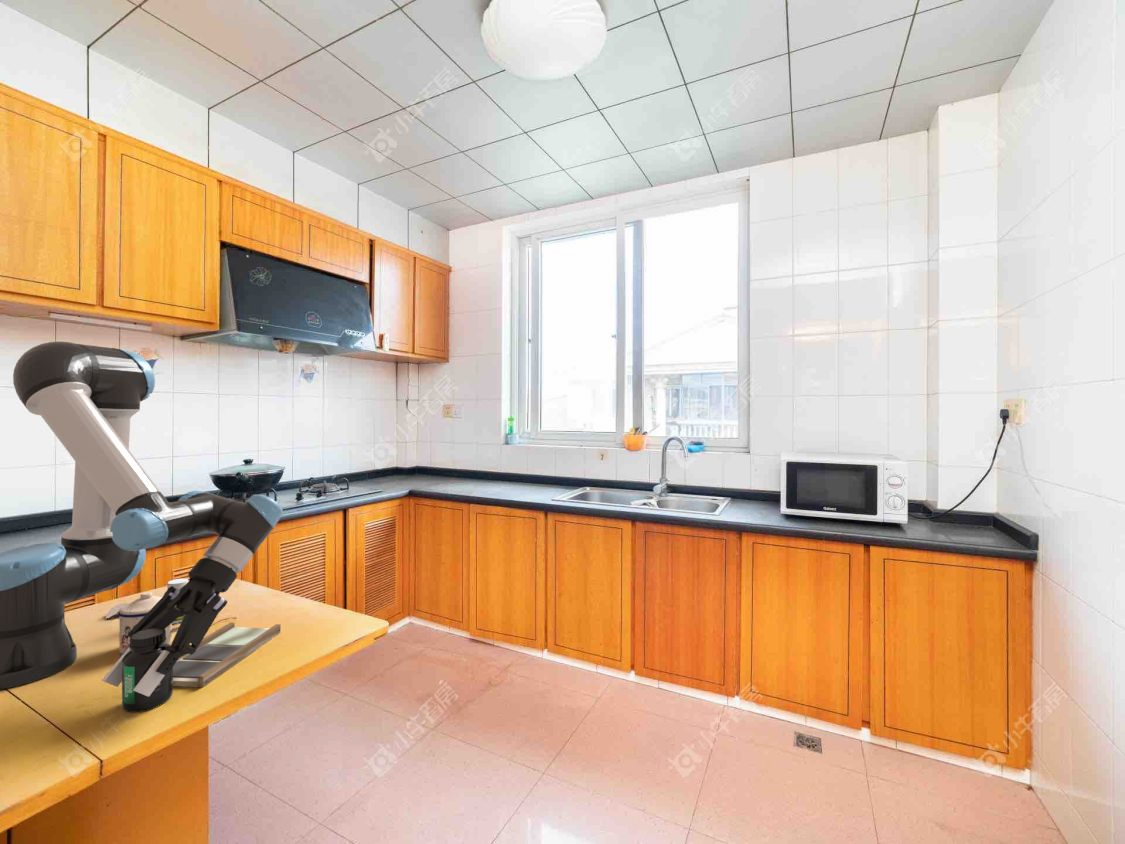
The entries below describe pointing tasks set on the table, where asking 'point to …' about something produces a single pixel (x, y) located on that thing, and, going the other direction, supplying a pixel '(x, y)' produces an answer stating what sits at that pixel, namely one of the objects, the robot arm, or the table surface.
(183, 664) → the window panel
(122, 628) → the teacup with lid
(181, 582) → the supplement bottle
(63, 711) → the table surface
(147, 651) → the supplement bottle
